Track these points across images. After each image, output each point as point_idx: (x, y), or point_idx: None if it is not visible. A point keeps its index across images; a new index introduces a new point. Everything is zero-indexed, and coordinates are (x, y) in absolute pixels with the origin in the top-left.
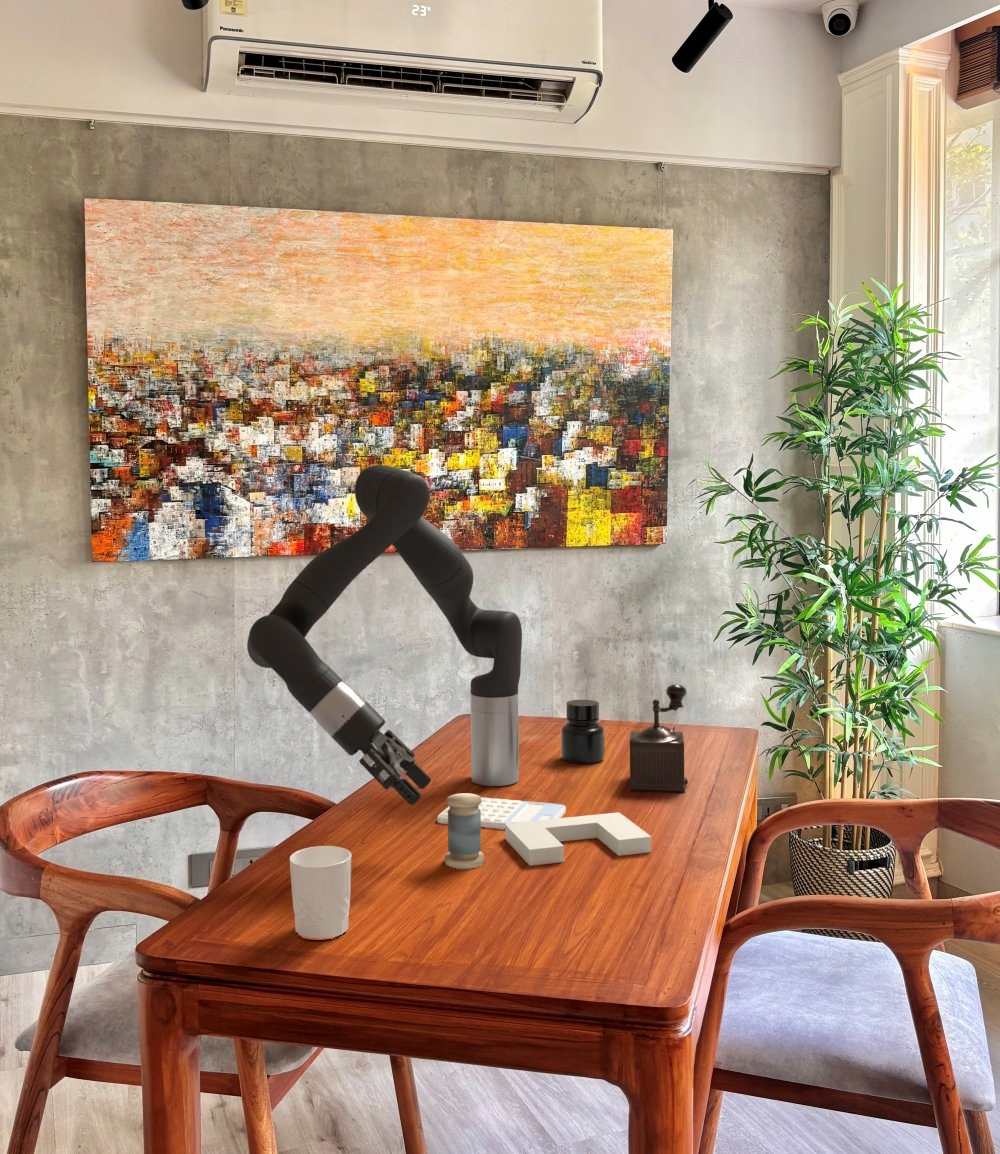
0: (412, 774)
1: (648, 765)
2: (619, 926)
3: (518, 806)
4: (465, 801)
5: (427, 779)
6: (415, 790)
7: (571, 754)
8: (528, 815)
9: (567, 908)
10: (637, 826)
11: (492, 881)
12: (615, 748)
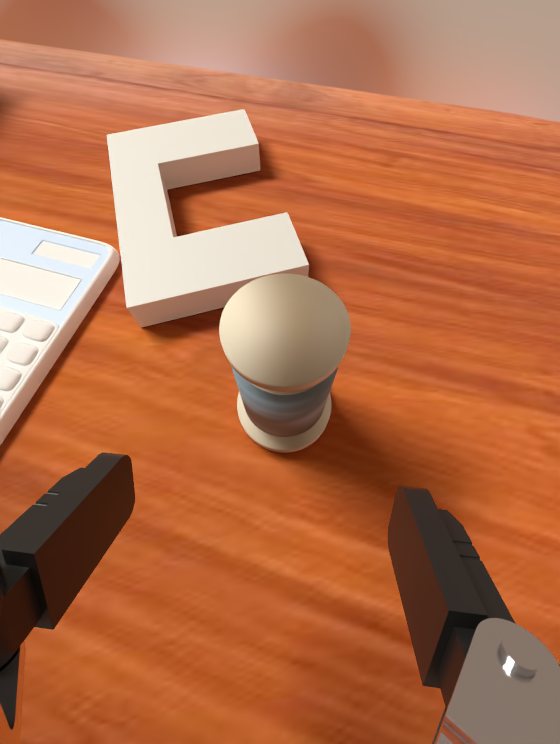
0: (73, 568)
1: None
2: (551, 187)
3: None
4: (325, 319)
5: (119, 470)
6: (440, 517)
7: None
8: (23, 277)
9: (502, 240)
10: (190, 119)
11: (396, 349)
12: None
